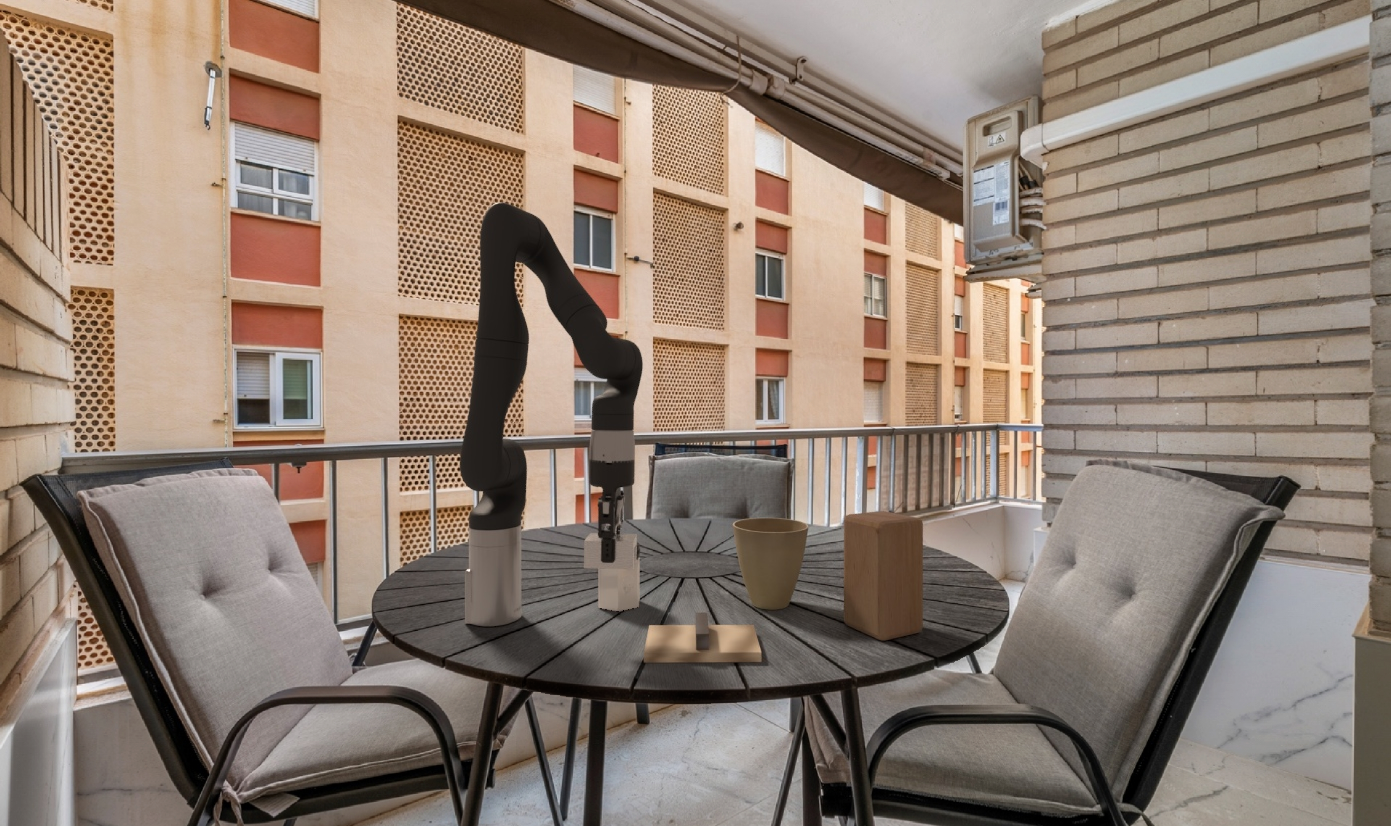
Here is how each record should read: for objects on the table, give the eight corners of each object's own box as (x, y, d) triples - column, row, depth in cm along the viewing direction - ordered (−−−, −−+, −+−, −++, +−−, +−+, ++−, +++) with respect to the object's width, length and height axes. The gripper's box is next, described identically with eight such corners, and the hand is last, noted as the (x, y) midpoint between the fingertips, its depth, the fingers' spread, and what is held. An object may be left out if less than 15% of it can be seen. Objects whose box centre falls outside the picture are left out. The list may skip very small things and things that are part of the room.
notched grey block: (633, 569, 100) (633, 541, 100) (583, 568, 100) (584, 540, 100) (636, 559, 106) (636, 533, 106) (589, 559, 106) (590, 533, 106)
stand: (643, 662, 94) (643, 636, 94) (649, 633, 106) (649, 610, 106) (761, 662, 94) (761, 636, 94) (753, 633, 106) (753, 610, 106)
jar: (607, 614, 116) (607, 551, 116) (590, 603, 123) (590, 543, 123) (649, 606, 121) (649, 545, 121) (630, 595, 128) (630, 538, 128)
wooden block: (882, 643, 102) (882, 523, 102) (841, 624, 111) (841, 513, 110) (925, 633, 106) (925, 518, 106) (882, 616, 115) (883, 509, 115)
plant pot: (717, 604, 122) (717, 524, 122) (762, 588, 133) (762, 515, 133) (779, 622, 112) (779, 535, 112) (822, 603, 123) (822, 523, 123)
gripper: (596, 453, 110) (595, 547, 110) (582, 460, 96) (580, 568, 96) (638, 454, 110) (637, 547, 110) (630, 461, 96) (628, 569, 96)
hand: (610, 556), depth 103 cm, fingers closed on notched grey block, 6 cm apart
